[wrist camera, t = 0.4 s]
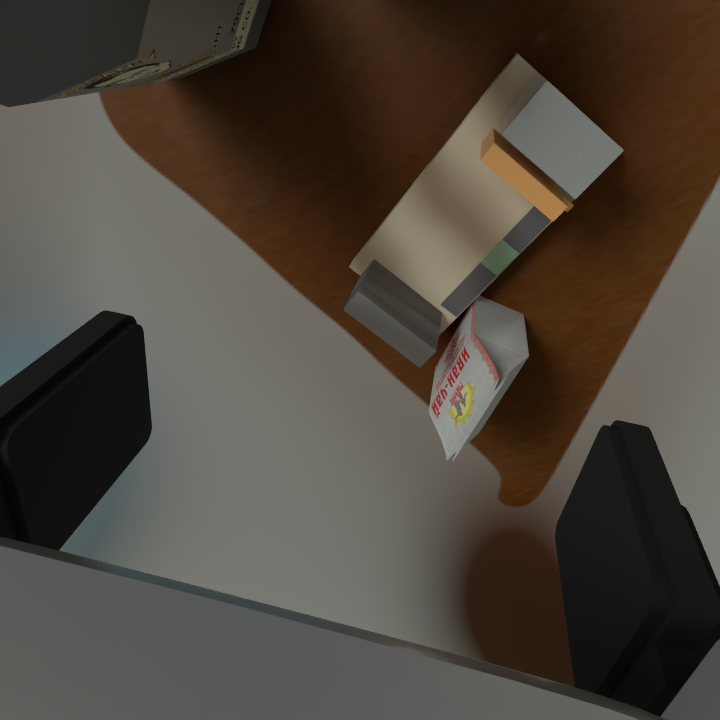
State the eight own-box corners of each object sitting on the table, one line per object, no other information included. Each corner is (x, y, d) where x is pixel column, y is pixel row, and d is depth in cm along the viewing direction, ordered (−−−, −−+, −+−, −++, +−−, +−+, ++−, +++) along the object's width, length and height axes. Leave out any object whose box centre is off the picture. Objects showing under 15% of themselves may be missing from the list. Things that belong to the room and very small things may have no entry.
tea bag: (523, 314, 39) (533, 392, 31) (479, 386, 43) (477, 473, 35) (475, 293, 39) (472, 366, 31) (435, 367, 43) (422, 450, 35)
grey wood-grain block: (538, 72, 30) (547, 80, 26) (605, 133, 31) (624, 150, 27) (499, 120, 32) (501, 134, 28) (563, 177, 33) (575, 199, 28)
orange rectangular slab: (493, 127, 32) (494, 143, 28) (575, 200, 33) (589, 225, 29) (481, 142, 33) (480, 159, 28) (563, 213, 34) (574, 239, 29)
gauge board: (516, 52, 32) (523, 58, 26) (617, 145, 33) (646, 171, 27) (353, 259, 40) (329, 299, 34) (439, 326, 41) (432, 377, 35)
